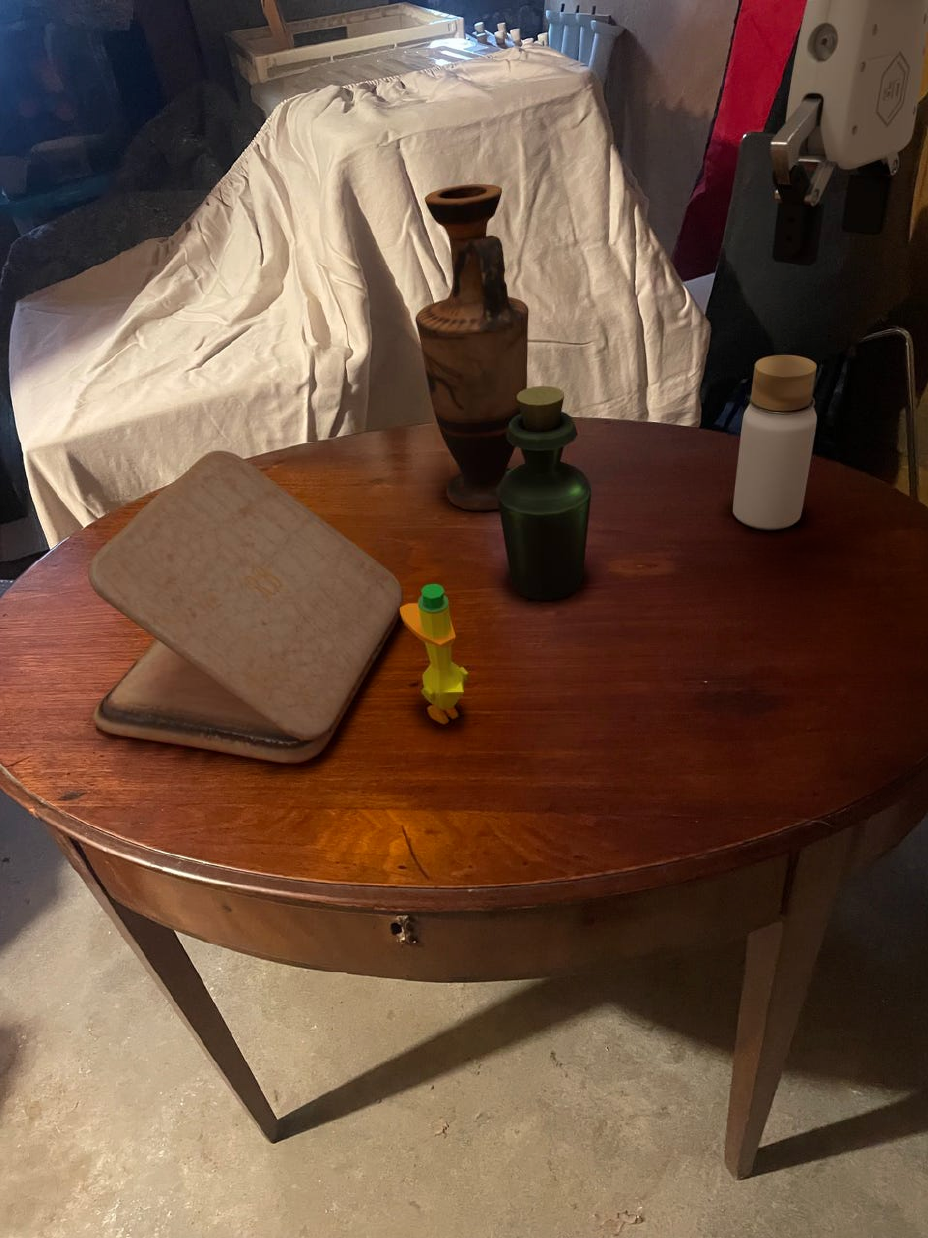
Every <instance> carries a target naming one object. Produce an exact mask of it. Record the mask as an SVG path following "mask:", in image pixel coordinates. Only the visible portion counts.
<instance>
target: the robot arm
mask: <svg viewBox="0 0 928 1238" xmlns="http://www.w3.org/2000/svg"><path fill="white" fill-rule="evenodd" d="M804 9H805V10H804V13H803V17H802V21H801V26H800V29H799V30H800V31H799V36H798V41H797V44H796V45H797V46H796V51H795V56H794V62H793V68H792V74H791V81H790V85H789V86H790V87H789V93H788V99H787V108H786V115H785V116H786V117H785V122H784V124H783V125H782V127H781V128H780V129H779V130H778V131H777V133H776V134H775V135H774V137H773V138H772V139H771V141H770V146H769V151H770V156H771V163H772V169H773V171H772V173H771V175H772V177H771V180H772V183H773V185H774V188H775V192H774V201H775V203H776V204H777V211H776V218H775V228H774V234H773V235H774V237H773V245H772V255H771V258H772V260H773V261H774V262H776V263H783V264H790V265H797V266H803V267H804V266H805V267H810V266H812V265H815V264H816V262H817V261H818V253H819V247H820V240H821V233H822V227H823V220H824V218H823V217H824V212H825V205H826V204H825V203H821V202H820V199H821V196H822V195H823V193H824V190H825V188H826V186H827V184H828V182H829V179H830V178H831V176H832V173H833V171H834V170H835V167H836V165H837V166H838V167H839V169H841V170H853V169H854V170H855V173H851V174H849V175H848V180H847V181H848V182H847V187H846V192H845V198H844V199H845V200H844V206H843V213H842V219H841V220H842V221H841V230H842V231H843V232H844V233H853V234H860V235H861V234H863V235H871V236H878V235H880V234H882V233H884V231H885V229H886V223H887V216H888V212H889V206H890V200H891V195H892V190H893V184H894V180H895V179H894V178H895V176H894V175H896V174H897V172H898V169H899V165H900V159H899V158H900V157H899V154H900V151H902V150H903V149H904V148H905V147H906V146H907V145H908V144H909V143H910V142H911V140H912V138H913V134H914V129H915V123H916V117H917V113H918V112H917V110H918V105H919V98H920V91H921V85H922V77H923V70H924V62H925V55H926V47H927V36H928V0H806V6H805V8H804ZM807 172H814V173H813V175H812V177H811V179H810V180H809V176H808V174H807ZM819 202H820V203H819Z"/></svg>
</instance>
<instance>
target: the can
mask: <svg viewBox="0 0 928 1238" xmlns="http://www.w3.org/2000/svg"><path fill="white" fill-rule="evenodd" d="M815 404H816V401H815V398H814V397H813V396H812V400H811V403H810V404H809V405H808V406H807V407H805V408H802V409H798V410H793V411H774V410H768V409H764V408H761V407H759V406H757V405H755V404H754V403H753V402H752V401H751V397H750V398H749V404H748V406H747V407H746V409H745V411H744V412H743V417H742V422H741V423H742V424H741V430H740V439H739V449H738V457H737V465H736V474H735V484H734V494H733V504H732V514H733V516H734V517H735V518H736V519H737V520H738V522H740V523H741V524H743V525H745V526H747V527H749V528H751V529H755V530H761V531H780V530H784V529H787V528H790V527H792V526H793V525H795V524H796V523H797V522H798V521H799V520H800V519H801V516H802V512H803V508H804V501H805V495H806V489H807V484H808V477H809V472H810V465H811V460H812V455H813V454H812V453H813V447H814V443H815V436H816V428H817V421H818V417H817V413H816V410H815V407H814V406H815Z"/></svg>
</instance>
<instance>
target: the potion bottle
mask: <svg viewBox="0 0 928 1238" xmlns="http://www.w3.org/2000/svg"><path fill="white" fill-rule="evenodd" d="M517 400H518V404H519V408H520V411H521V414H519V415H517V416H515V417H514V418H513V419H512V420H511V422H510V423H509V427H508V430H507V434H506V437H507V441H508V442H509V443H510V444H512V445H513V446H515V448H519V449H520V451H521V454H522V457H523V460H524V463H522V464H519V465H516V466H515V467H514V468H511V469H512V470H510V471H508V472H507V473H506V474H505V476H504V477H503V479H502V480H501V482H500V484H499V486H498V488H497V498H498V504H499V509H498V510H499V516H500V522H501V528H502V533H503V534H502V535H503V539H504V540H503V541H504V546H505V552H506V558H507V564H508V570H509V576H510V577H509V578H510V582H511V583H510V584H511V586H512V587H513V589H515V591H517V593H518V594H520V595H522V596H524V597H526V598H528V599H531V600H536V601H554V600H559V599H562V598H565V597H568V596H570V595H571V594H572V593H574V592H575V591H577V589H579V588H580V586H581V583H582V581H583V579H584V578H583V577H584V570H585V569H584V567H585V558H586V548H587V538H588V529H589V519H590V508H591V501H592V500H591V499H592V487H591V485H590V481H589V479H588V478H587V476H586V475H585V473H584V472H583V471H582V470H581V469H579V468H578V467H577V466H575V465H572V464H569V463H567V462H563V461H561V460H562V456H563V453H564V449H565V446H567V445H570V444H571V443H572V442H575V440H576V438H577V437H578V436H579V433H578V430H577V427H576V424H575V422H574V419H573V417H572V415H570V414H568V413H567V412H564V411H562V410H563V405H564V400H565V392H564V390H562V389H561V388H559V387H555V386H552V385H551V386H550V385H538V386H531V387H527V389H524V390H522V391H520V392H519V393H518V395H517Z"/></svg>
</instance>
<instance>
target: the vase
mask: <svg viewBox="0 0 928 1238" xmlns="http://www.w3.org/2000/svg"><path fill="white" fill-rule="evenodd" d="M502 194H503V188H502V187H500V186H498V185H495V184H484V183H473V184H472V183H471V184H469V183H468V184H460V185H455V186H449V187H448V186H447V187H444V188H440V189H438V190H435V191H432V192H430V193H428V194H426V196H425V197H424V202H425V205H426V207H427V209H428V211H429V214H430V215H431V217H432V218H433V220H434V221H435V223H437V224H438V225H439V226H442V227H443V229H444V230H445V232H446V235H447V236H448V241H449V246H450V259H451V268H452V269H451V270H452V284H451V290H450V292H449V295H448V297H447V298H445V299H442V300H438V301H435V302H433V303H430V304H427V305H426V306H424V307H423V308H421V309H420V310H419V311H418V312H417V314H416V316H415V320H414V321H415V325H416V328H417V332H418V333H417V334H418V337H419V341H420V348H421V353H422V359H423V364H424V365H423V366H424V369H425V375H426V380H427V385H428V390H429V396H430V401H431V406H432V409H433V413H434V416H435V421H436V424H437V425H438V429H439V431H440V435H441V437H442V439H443V441H444V443H445V445H446V448H447V449H448V451H449V452H450V454H451V456H452V458H453V460H454V461H455V463H456V465H457V467H458V469H459V470H460V472H458V473H457V474H456V475H454V476H452V478H451V479H450V480H449V481H448V483H447V487H446V497H447V498H448V499H449V502H450V503H451V504H452V505H453V506H455V507H458V508H460V509H464V510H466V511H467V510H468V511H475V512H484V511H485V512H486V511H487V512H488V511H494V510H495V511H496V510H499V504H498V498H497V488H498V486H499V484H500V482H501V480H502V479H503V477H504V476H505V474H506V473H507V472H508V471H510V470H512V469H513V468H510V467H508V465H509V463H510V462H511V458H512V457H513V454H514V451H515V449H516V447H515V446H513V445H512V444H510V443H509V442H508V441H507V437H506V434H507V430H508V427H509V423H510V422H511V420H512V419H513V418H514V417H515V416H517V415H519V414H521V411H520V408H519V404H518V400H517V395H518V393H519V392H520V391H522V390H524V389H527V388H528V353H529V352H528V351H529V348H528V347H529V346H528V344H529V342H528V341H529V340H528V339H529V338H528V337H529V314H530V313H529V312H530V311H529V307H528V305H527V304H526V303H525V302H523V301H522V300H520V299H519V298H516V297H512V296H509V293H508V284H507V282H506V281H505V273H506V266H505V257H504V255H505V254H504V249H503V244H502V241H501V239H500V237H499V236H497V235H496V236H495V235H492V234H491V235H487V229H488V224H489V221H490V220H491V219H492V218H493V217H495V215H496V212H497V209H498V206H499V204H500V201H501V198H502Z"/></svg>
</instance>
